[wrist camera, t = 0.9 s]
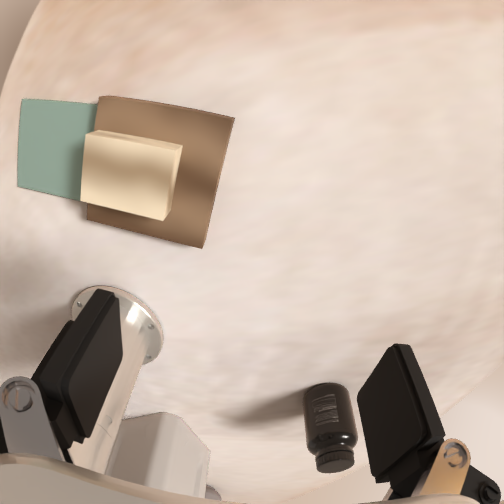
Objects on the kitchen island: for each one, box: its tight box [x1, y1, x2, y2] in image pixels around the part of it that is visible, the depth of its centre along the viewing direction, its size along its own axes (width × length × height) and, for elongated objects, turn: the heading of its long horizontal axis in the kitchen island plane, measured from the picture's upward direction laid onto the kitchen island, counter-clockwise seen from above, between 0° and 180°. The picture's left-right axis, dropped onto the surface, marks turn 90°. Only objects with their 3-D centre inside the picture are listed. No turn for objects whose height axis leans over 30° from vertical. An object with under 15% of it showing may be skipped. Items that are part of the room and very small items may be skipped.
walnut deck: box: [87, 96, 235, 249], centre depth 27 cm, size 12×12×2 cm
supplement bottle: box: [303, 383, 358, 473], centre depth 37 cm, size 7×7×12 cm
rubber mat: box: [18, 99, 98, 203], centre depth 27 cm, size 10×11×1 cm
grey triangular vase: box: [104, 412, 211, 498], centre depth 38 cm, size 19×15×28 cm
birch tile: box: [80, 130, 183, 221], centre depth 25 cm, size 6×8×2 cm
